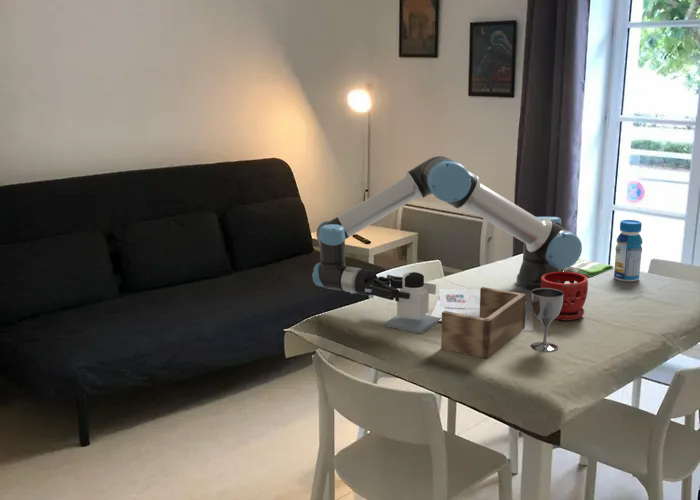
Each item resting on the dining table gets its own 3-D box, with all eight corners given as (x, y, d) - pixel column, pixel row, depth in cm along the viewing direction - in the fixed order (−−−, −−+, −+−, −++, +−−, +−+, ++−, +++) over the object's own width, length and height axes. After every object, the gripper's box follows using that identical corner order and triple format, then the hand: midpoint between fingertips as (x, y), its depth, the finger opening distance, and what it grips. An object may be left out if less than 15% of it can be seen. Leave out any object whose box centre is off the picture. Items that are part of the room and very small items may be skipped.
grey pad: (384, 326, 211) (384, 322, 211) (404, 314, 221) (404, 311, 221) (421, 333, 205) (421, 330, 204) (441, 321, 214) (441, 318, 214)
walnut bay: (441, 348, 194) (441, 312, 191) (481, 320, 215) (482, 287, 212) (487, 358, 187) (488, 321, 185) (524, 328, 208) (526, 294, 206)
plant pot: (553, 305, 227) (556, 268, 224) (593, 315, 218) (596, 276, 215) (530, 316, 218) (532, 277, 215) (571, 326, 209) (573, 286, 206)
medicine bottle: (428, 312, 214) (429, 272, 211) (420, 319, 207) (420, 278, 204) (405, 308, 217) (406, 269, 214) (396, 316, 210) (396, 275, 207)
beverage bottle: (636, 283, 248) (641, 225, 243) (610, 280, 252) (615, 222, 247) (641, 277, 255) (646, 220, 250) (616, 274, 259) (620, 218, 254)
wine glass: (524, 342, 198) (527, 288, 194) (553, 340, 198) (557, 287, 195) (534, 353, 190) (537, 297, 186) (564, 351, 191) (568, 296, 187)
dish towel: (557, 258, 283) (558, 249, 282) (613, 269, 266) (614, 260, 266) (531, 266, 272) (532, 257, 271) (588, 279, 255) (589, 269, 254)
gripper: (378, 284, 229) (444, 296, 217) (340, 302, 212) (410, 316, 200) (377, 261, 227) (445, 271, 215) (340, 277, 211) (410, 289, 198)
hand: (428, 293), depth 208 cm, fingers closed on medicine bottle, 8 cm apart
